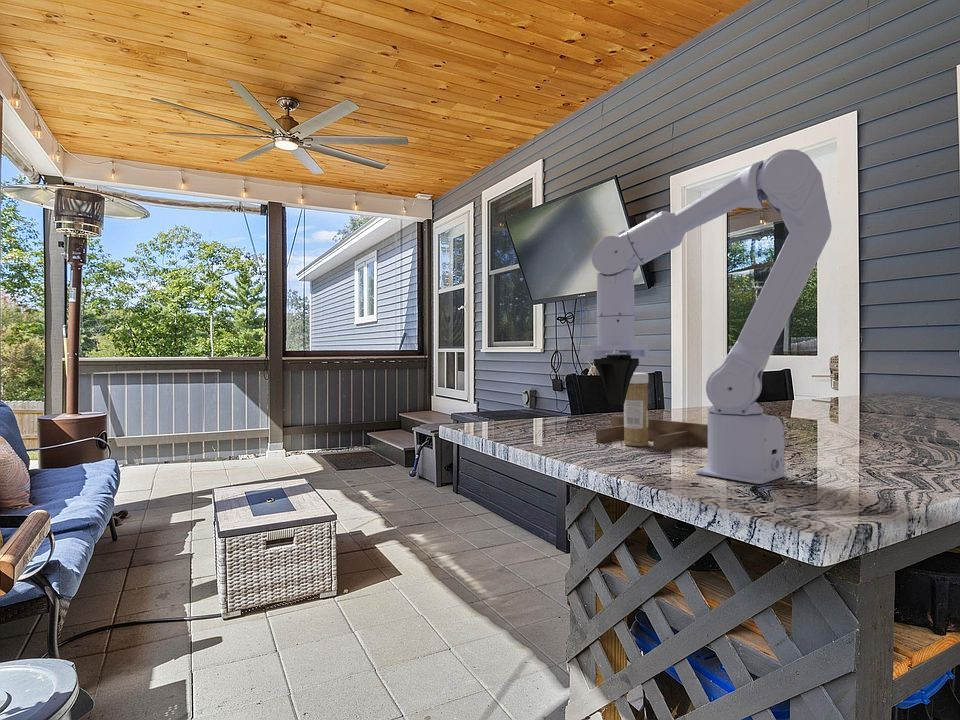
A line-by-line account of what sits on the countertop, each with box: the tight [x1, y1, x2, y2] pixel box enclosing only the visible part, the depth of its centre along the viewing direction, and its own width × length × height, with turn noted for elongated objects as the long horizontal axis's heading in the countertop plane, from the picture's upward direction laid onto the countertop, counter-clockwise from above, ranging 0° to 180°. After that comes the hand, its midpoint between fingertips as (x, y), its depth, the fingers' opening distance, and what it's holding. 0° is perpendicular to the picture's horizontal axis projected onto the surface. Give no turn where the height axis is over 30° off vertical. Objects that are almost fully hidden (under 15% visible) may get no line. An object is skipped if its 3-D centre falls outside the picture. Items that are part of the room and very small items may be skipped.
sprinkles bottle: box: [623, 372, 650, 447], centre depth 109 cm, size 5×5×14 cm
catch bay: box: [595, 414, 708, 452], centre depth 111 cm, size 22×11×4 cm, turn 39°
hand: (616, 404), depth 91 cm, fingers closed
